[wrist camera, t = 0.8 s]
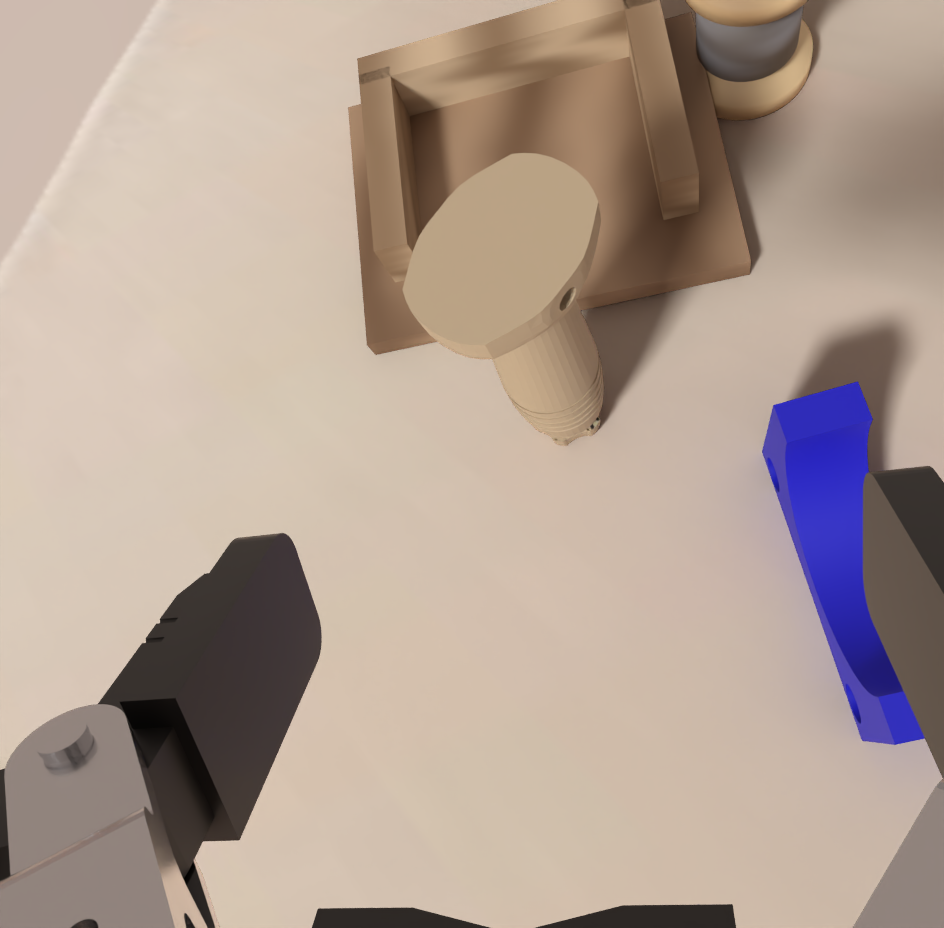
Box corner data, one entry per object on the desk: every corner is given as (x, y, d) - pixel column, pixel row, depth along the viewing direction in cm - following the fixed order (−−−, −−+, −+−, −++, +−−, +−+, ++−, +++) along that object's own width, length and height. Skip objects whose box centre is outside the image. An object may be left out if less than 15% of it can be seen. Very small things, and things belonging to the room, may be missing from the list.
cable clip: (984, 714, 32) (1044, 712, 27) (861, 740, 33) (895, 744, 27) (869, 423, 36) (900, 369, 31) (761, 453, 37) (773, 405, 31)
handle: (655, 386, 39) (631, 199, 25) (568, 499, 38) (494, 373, 24) (570, 333, 40) (502, 129, 26) (486, 440, 40) (372, 291, 26)
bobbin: (794, 1, 42) (812, -129, 36) (823, 101, 40) (847, -17, 34) (671, 35, 43) (666, -85, 37) (693, 134, 42) (693, 25, 35)
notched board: (691, 30, 43) (690, -38, 39) (749, 274, 39) (755, 224, 35) (356, 122, 47) (325, 67, 43) (375, 354, 43) (343, 318, 39)
